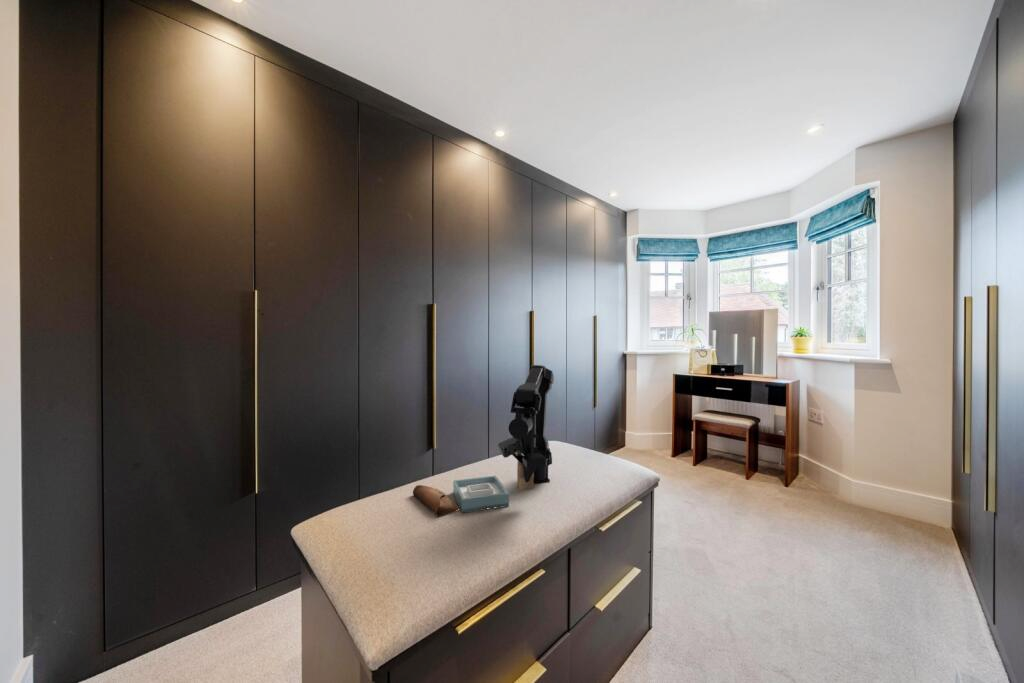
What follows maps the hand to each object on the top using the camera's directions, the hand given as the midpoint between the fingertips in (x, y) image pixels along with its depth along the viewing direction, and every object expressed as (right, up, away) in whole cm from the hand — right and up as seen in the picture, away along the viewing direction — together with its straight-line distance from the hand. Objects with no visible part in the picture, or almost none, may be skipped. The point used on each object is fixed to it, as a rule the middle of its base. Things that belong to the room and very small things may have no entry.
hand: (525, 480), depth 116 cm
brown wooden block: (0, -3, 0) cm, 2 cm away
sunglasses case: (-28, -9, +2) cm, 29 cm away
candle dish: (-14, -8, +5) cm, 17 cm away
